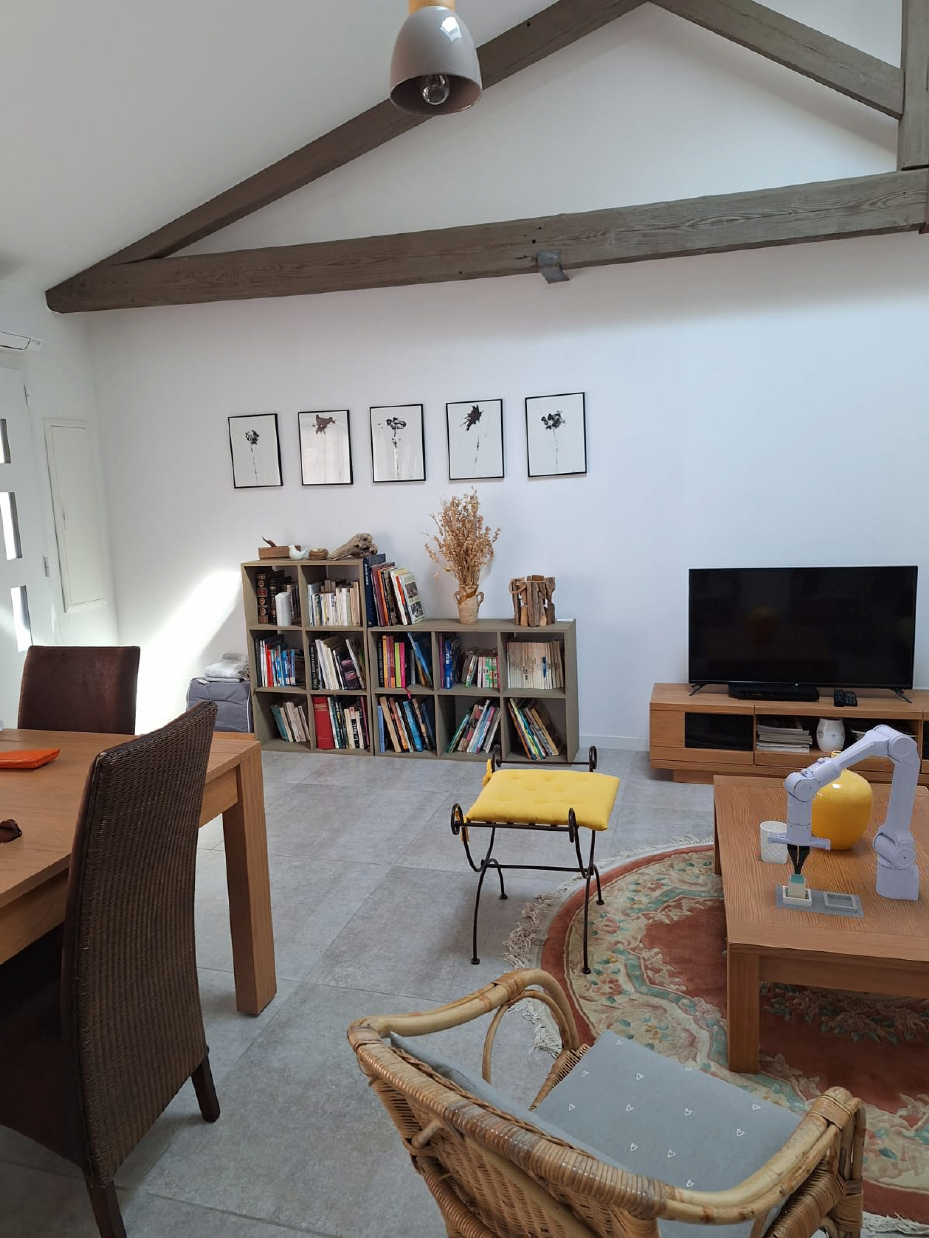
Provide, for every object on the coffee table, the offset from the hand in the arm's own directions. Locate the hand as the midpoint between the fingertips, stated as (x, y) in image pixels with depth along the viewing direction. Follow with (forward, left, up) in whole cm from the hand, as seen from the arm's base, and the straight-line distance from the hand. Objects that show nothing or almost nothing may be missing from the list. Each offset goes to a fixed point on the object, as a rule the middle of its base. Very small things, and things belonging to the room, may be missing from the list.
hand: (797, 872), depth 212 cm
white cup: (+5, -24, -8) cm, 26 cm away
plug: (0, 0, -7) cm, 7 cm away
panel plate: (-5, 0, -8) cm, 10 cm away
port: (0, 0, -8) cm, 8 cm away
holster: (-10, 0, -7) cm, 12 cm away
